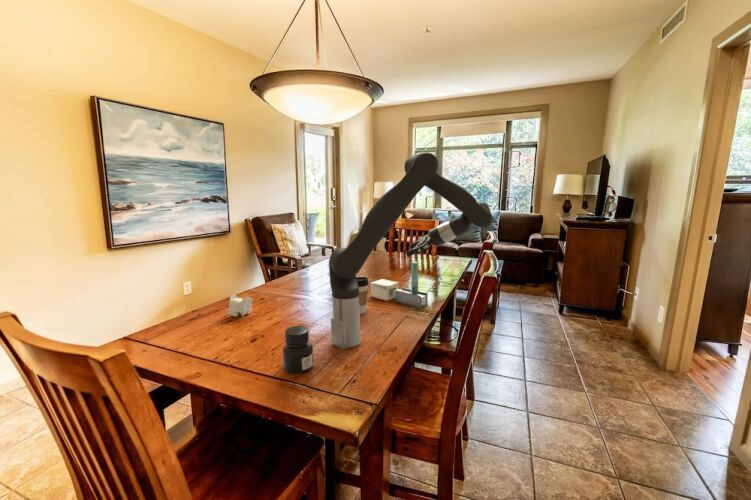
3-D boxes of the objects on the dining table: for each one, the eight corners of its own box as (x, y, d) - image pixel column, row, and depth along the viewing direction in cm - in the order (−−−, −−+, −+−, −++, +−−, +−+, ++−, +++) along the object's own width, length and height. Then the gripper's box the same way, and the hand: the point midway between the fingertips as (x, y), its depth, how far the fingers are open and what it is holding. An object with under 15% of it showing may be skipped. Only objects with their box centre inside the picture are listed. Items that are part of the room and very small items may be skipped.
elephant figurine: (220, 318, 144) (218, 298, 142) (243, 309, 154) (241, 290, 153) (236, 322, 139) (234, 301, 138) (258, 312, 150) (257, 293, 148)
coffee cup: (366, 315, 143) (365, 281, 141) (347, 314, 145) (346, 280, 142) (371, 308, 152) (370, 276, 149) (352, 307, 153) (351, 275, 150)
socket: (386, 300, 162) (386, 286, 160) (370, 296, 169) (370, 282, 167) (398, 296, 168) (398, 282, 167) (382, 292, 175) (382, 278, 174)
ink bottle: (312, 375, 99) (309, 336, 96) (281, 376, 98) (278, 338, 96) (315, 358, 108) (313, 323, 106) (287, 360, 108) (284, 324, 105)
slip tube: (421, 305, 152) (421, 264, 148) (393, 297, 162) (393, 259, 159) (426, 303, 154) (426, 263, 151) (398, 296, 165) (398, 258, 161)
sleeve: (419, 308, 151) (419, 296, 150) (395, 301, 160) (395, 290, 159) (427, 304, 155) (427, 292, 154) (403, 298, 164) (403, 287, 163)
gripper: (440, 221, 142) (407, 238, 148) (436, 231, 129) (400, 249, 136) (449, 236, 143) (416, 252, 150) (445, 247, 130) (410, 264, 137)
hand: (408, 250), depth 143 cm, fingers open, 8 cm apart
